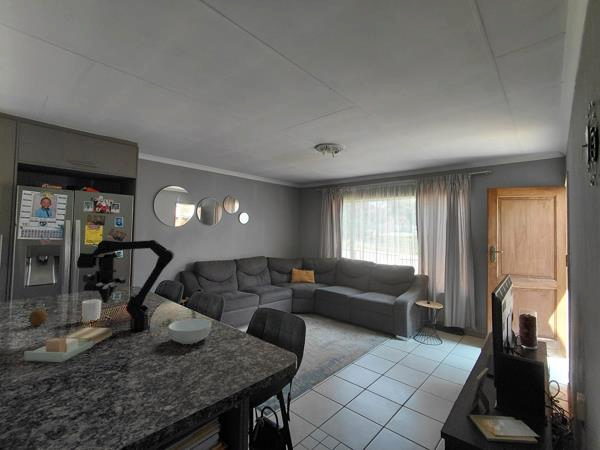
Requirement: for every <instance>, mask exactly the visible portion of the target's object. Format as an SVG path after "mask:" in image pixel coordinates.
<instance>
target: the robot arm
mask: <svg viewBox="0 0 600 450" xmlns="http://www.w3.org/2000/svg"><path fill="white" fill-rule="evenodd" d="M141 249H150V250H151V251H152V252H153V253H154V254H155V255H156V256H158V258H157V260H156V264H155V266H154V268H153V270H152V271H151V273H150V274H149V276H148V277H147V279H146V281H144V284H143V286H142V287H141V289H140V290H139V292H138V294H136V293H134V294H132V296H131V297H130V298H129V301H128V302H127V303H126V307H125V308H126V309H125V310H126V312H127V313H128V314H129V315H130V317H131V318H130V320H129V321H130V324H129V329H128V331H129V332H143V331H145V330H147V329H150V327H151V326H150V325H149V314H147V313H148V312H149V307H147V306H146V305H145V304H146V301H147V297H148V295H149V294H150V292H151V290H152V289H153V286H154V285H155V283H156V282H157V280H158V279H159V277H160V276H161V274H162V273H163V270H165V268H166V267H167V266H168V265H169V264H170V263H171V262H172V260H174V257H175V253H174V252H173V250H171V249H167V248H166V247H165V246H163V245H162V244H160V243H159V242H158V241H157V240H155V239H150V240H130V241H129V240H126V241H124V240H123V241H121V240H115V239H103V240H101V241H99V242H98V244H97V247H96V248H95V250H94V251H93V252H91V253H90V252H80V253H79V256H78V258H77V261H76V267H77V269H95V268H96V267H98V269H97V270H96V271H95V274H90V273H89V274H88V273H87V274H84V275H83V276H82V282H83V283H84V285H83V292H84V291H87V292H98V294H99V295H100V297H101V299H102V302H103V304H107V303H108V301H109V300H110V298H111V296H112V295H113V293H114V291H115V290H116V288H117V287H118V285H115V284H119V285H124V284H126V280H127V279H126V278H125V277H124V276H114V275H115V274H114V273H116V272H117V269H115V259H117V258H120V255H119V254H118V253H117V252H118V251H122V250H123V251H124V250H126V251H127V250H141ZM102 255H103V256H102Z"/></svg>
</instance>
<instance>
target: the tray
mask: <svg viewBox="0 0 600 450" xmlns="http://www.w3.org/2000/svg"><path fill="white" fill-rule="evenodd" d="M94 345H95V344H94V341H90V342H78V347H76V348H74V349H72V350H70V351H68V352H65V353H62V352H46V345H44V346H42V347H39V348H37V349H35V350H26V351H23V352H24V353H23V356H24V357H23V360H24V361H27V362H28V361H29V362H46V363H47V362H48V363H49V362H50V363H53V362H54V363H63V362H64V363H65V362H66V361H68V360H70V359H71V358H73V357H75V356H77V355H79V354H81V353H83V352H84V351H87V350H88V349H91V348H93V347H94Z"/></svg>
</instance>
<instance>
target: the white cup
mask: <svg viewBox="0 0 600 450" xmlns="http://www.w3.org/2000/svg"><path fill="white" fill-rule="evenodd" d="M102 302H103V300H101V299H99V298H98V299H87V300H83V301H82V302H81V313H82V314H81V315H82V316H81V317H82V324H85V323H84V322H86V321H89V320H97V319H99V318H101V312H102V311H101V310H102Z"/></svg>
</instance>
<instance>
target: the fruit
mask: <svg viewBox="0 0 600 450" xmlns="http://www.w3.org/2000/svg"><path fill="white" fill-rule="evenodd" d="M47 317H48V315H47V312H46V311H45V310H44V309H40V308H37V309H35V310H33V311H31V312H30V314H29V317H28V321H29V323H30V325H31V326H35V327H39V326H41V325H43V324H45V322H46V321H47Z"/></svg>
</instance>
